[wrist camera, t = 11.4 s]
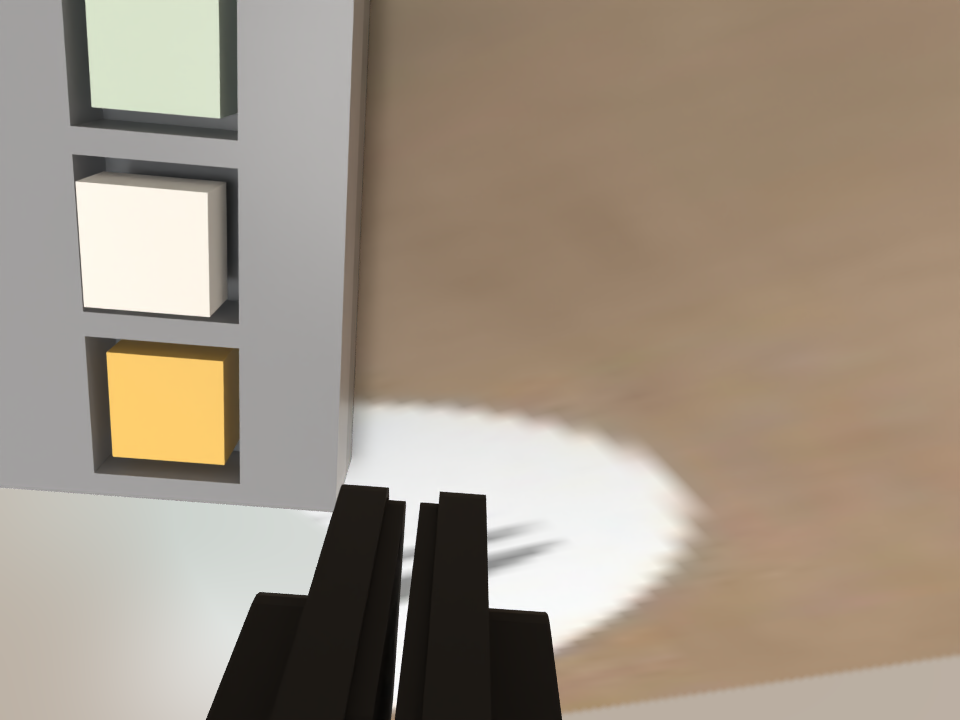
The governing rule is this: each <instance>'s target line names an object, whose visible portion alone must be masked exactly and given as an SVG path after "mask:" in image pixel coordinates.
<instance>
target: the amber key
mask: <svg viewBox="0 0 960 720" xmlns="http://www.w3.org/2000/svg"><path fill="white" fill-rule="evenodd" d="M106 354H107V370H108V387H109V404H110V420H111V437H112V453H113V457H125V458H138V459H151V460H165V461H178V462H191V463H204V464H218V465H225V463H226V462H227V460H228V458H229V456H230V455H231V453H232V451H233V450H234V448H235V446H236V445H237V443H238V441H239V439H240V431H239V348H227V347H214V346H202V345H189V344H177V343H164V342H152V341H139V340H127V339H121V340H120V341H119V342H118V343H117V344H115V345H114V346H113V347H112V348H111V349H110V350H108V351H107V352H106Z"/></svg>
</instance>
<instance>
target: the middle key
mask: <svg viewBox="0 0 960 720" xmlns="http://www.w3.org/2000/svg"><path fill="white" fill-rule="evenodd" d="M75 182H76V196H77V211H78V226H79V240H80V255H81V269H82V284H83V299H84V307H91V308H103V309H116V310H128V311H140V312H153V313H165V314H177V315H190V316H202V317H210V316H211V315H212V314H213V313H214V312H215V311H216V310H217V309H218V308H219V307H220V306H221V305H222V304H223V303H224V302H225V301H226V300H227V298H228V297H227V203H226V182H221V181H209V180H197V179H186V178H174V177H163V176H151V175H140V174H128V173H116V172H105V171H103V172H101V173H98V174H95V175H92V176H89V177H87V178H84V179H81V180H78V181H75Z"/></svg>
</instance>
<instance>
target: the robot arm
mask: <svg viewBox="0 0 960 720" xmlns="http://www.w3.org/2000/svg"><path fill="white" fill-rule="evenodd" d="M405 511H406V501H394V500H389V488H385V487H372V486H359V485H345V484H342V485H341V487H340V490H339V494H338V497H337V500H336V504H335V507H334V510H333V514H332V517H331V520H330V524H329V527H328V530H327V534H326V537H325V541H324V544H323V547H322V550H321V554H320V557H319V560H318V564H317V567H316V570H315V574H314V577H313V580H312V584H311V587H310V591H309V594H308V595H293V594H280V593H265V592H259V593H258V594H257V595H256V597H255V598H254V600H253V603H252V604H251V607H250V610H249V612H248V615H247V617H246V620H245V622H244V625H243V627H242V630H241V632H240V635H239V638H238V640H237V642H236V645H235V647H234V650H233V652H232V655H231V658H230V660H229V663H228V665H227V668H226V671H225V673H224V675H223V678H222V680H221V683H220V685H219V688H218V690H217V693H216V696H215V698H214V701H213V703H212V706H211V708H210V711H209V713H208V716H207V718H206V720H391V714H392V703H393V692H394V677H395V662H396V647H397V632H398V617H399V602H400V587H401V572H402V557H403V542H404V527H405ZM395 720H562V716H561V708H560V700H559V692H558V684H557V676H556V669H555V661H554V653H553V645H552V637H551V629H550V622H549V617H548V614H547V613H546V612H535V611H521V610H506V609H492V608H489V600H488V557H487V515H486V495H479V494H465V493H452V492H440V497H439V504H434V503H420V511H419V519H418V528H417V536H416V545H415V553H414V562H413V570H412V579H411V587H410V596H409V604H408V613H407V621H406V630H405V638H404V647H403V655H402V663H401V672H400V680H399V689H398V697H397V706H396V714H395Z"/></svg>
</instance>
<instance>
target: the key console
mask: <svg viewBox="0 0 960 720" xmlns="http://www.w3.org/2000/svg"><path fill="white" fill-rule="evenodd" d="M369 20H370V0H237V97H238V113H236V114H233V115H230V116H227V117H223V118H209V117H197V116H186V115H175V114H164V113H153V112H141V111H130V110H119V109H108V108H96V107H92V105H91V88H90V72H89V55H88V38H87V22H86V5H85V0H0V488H13V489H27V490H41V491H54V492H68V493H81V494H95V495H108V496H123V497H136V498H150V499H162V500H176V501H190V502H203V503H216V504H230V505H243V506H257V507H271V508H284V509H297V510H311V511H324V512H333V510H334V507H335V504H336V500H337V497H338V494H339V490H340V487H341V485H342V484H344V482H345V478H346V475H347V472H348V468H349V465H350V462H351V451H352V427H353V403H354V379H355V355H356V331H357V307H358V283H359V259H360V235H361V211H362V187H363V163H364V140H365V116H366V92H367V68H368V44H369ZM103 171H105V172H116V173H128V174H140V175H151V176H163V177H174V178H186V179H197V180H209V181H221V182H226V203H227V297H228V298H227V300H226V301H225V302H224V303H223V304H222V305H221V306H220V307H219V308H218V309H217V310H216V311H215V312H214V313H213V314H212V315H211V316H210V317H202V316H190V315H177V314H165V313H153V312H140V311H128V310H116V309H103V308H91V307H84V299H83V284H82V269H81V255H80V240H79V226H78V211H77V196H76V182H75V181H78V180H81V179H84V178H87V177H89V176H92V175H95V174H98V173H101V172H103ZM121 339H127V340H139V341H152V342H164V343H177V344H189V345H202V346H214V347H227V348H239V431H240V439H239V441H238V443H237V445H236V446H235V448H234V450H233V451H232V453H231V455H230V456H229V458H228V460H227V462H226V463H225V465H218V464H204V463H191V462H178V461H165V460H151V459H138V458H125V457H113V453H112V437H111V420H110V404H109V387H108V370H107V354H106V352H107V351H108V350H110V349H111V348H112V347H113V346H114V345H115V344H117V343H118V342H119V341H120V340H121Z"/></svg>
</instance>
